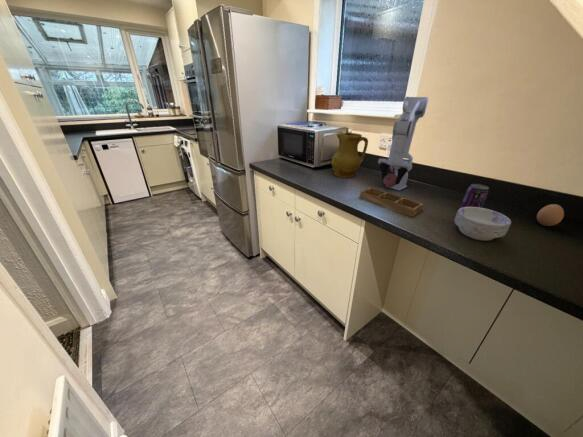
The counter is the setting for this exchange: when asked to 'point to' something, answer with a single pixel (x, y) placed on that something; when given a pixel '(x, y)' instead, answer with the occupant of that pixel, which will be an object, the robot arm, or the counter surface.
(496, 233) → the paper bowls
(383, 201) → the tray
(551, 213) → the egg
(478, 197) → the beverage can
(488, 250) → the counter surface
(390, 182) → the vegetable
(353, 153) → the pitcher
